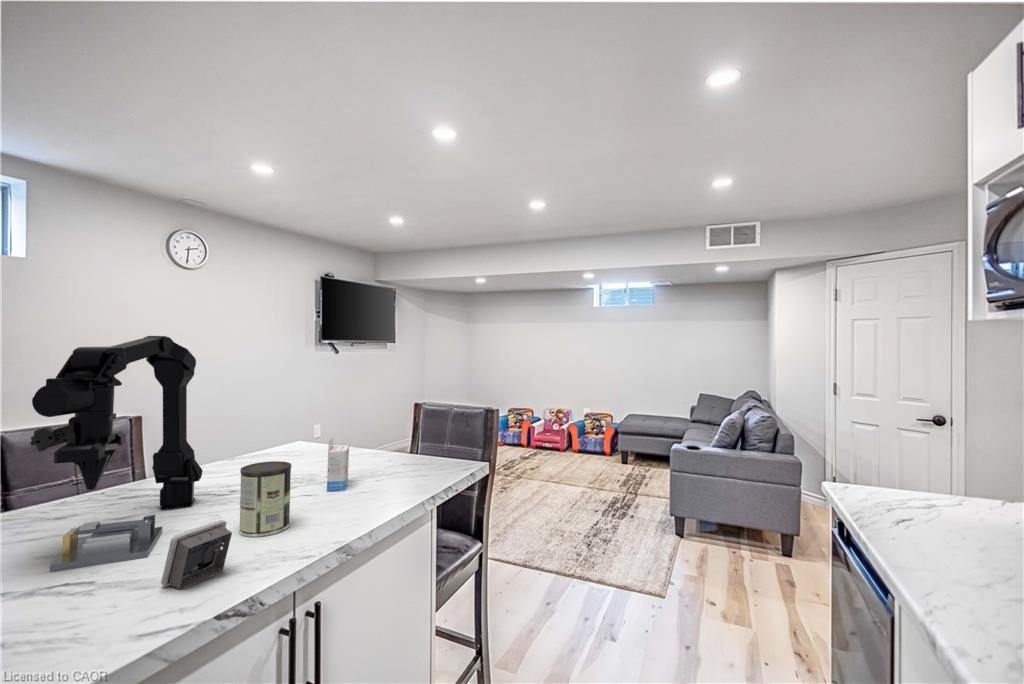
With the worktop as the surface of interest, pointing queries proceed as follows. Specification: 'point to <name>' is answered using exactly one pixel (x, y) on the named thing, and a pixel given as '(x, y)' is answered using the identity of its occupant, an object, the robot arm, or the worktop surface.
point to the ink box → (337, 467)
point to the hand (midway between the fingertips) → (91, 489)
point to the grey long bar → (108, 526)
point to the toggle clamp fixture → (107, 546)
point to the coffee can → (265, 498)
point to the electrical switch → (196, 555)
